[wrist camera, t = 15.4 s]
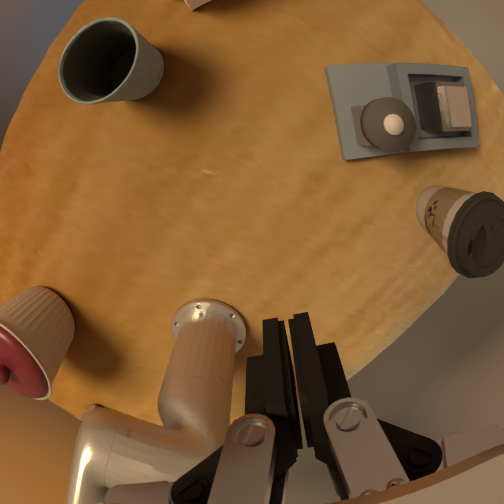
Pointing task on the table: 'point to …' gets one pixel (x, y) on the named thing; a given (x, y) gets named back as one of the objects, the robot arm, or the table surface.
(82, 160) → the table surface
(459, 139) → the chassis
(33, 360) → the canister
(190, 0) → the beige beam
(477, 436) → the robot arm
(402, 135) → the round knob on base
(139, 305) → the table surface
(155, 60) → the green tumbler
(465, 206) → the coffee cup
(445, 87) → the beige block
